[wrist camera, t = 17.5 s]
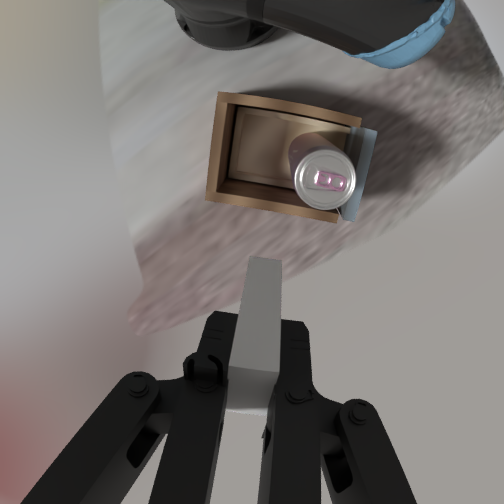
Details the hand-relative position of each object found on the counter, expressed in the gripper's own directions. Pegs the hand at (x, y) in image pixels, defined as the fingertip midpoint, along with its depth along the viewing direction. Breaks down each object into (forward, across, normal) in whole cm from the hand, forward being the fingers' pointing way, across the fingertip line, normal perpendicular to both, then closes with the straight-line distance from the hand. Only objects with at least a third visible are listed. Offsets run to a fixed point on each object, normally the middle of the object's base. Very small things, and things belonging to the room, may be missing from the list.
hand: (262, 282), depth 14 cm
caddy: (+30, +1, +2) cm, 30 cm away
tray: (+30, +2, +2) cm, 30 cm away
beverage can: (+29, +5, +2) cm, 29 cm away
